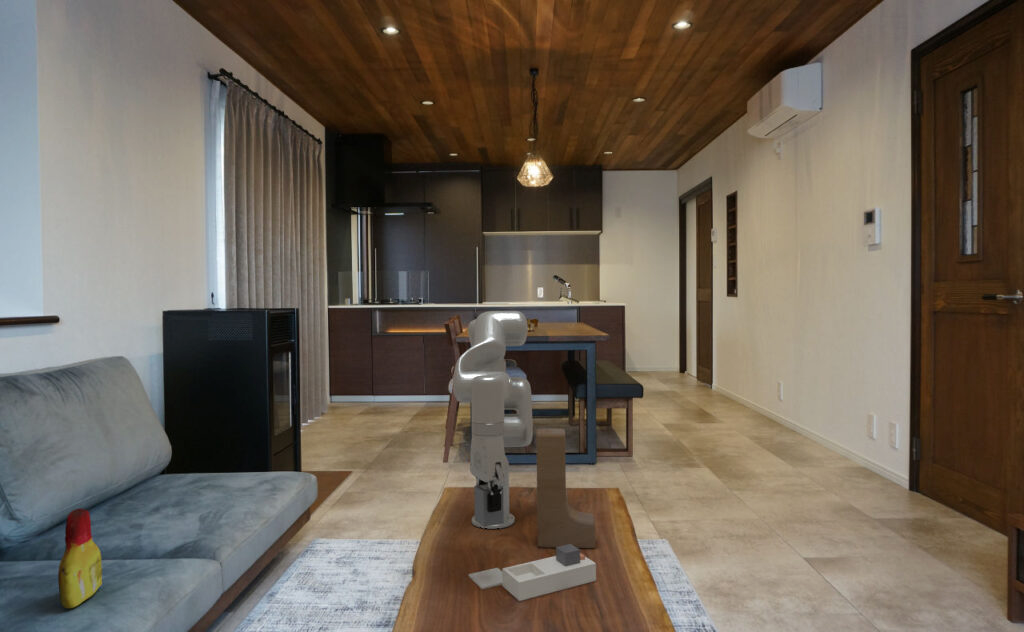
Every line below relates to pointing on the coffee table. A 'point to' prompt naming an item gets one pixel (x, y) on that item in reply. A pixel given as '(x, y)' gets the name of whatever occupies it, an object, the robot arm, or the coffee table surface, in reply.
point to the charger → (486, 507)
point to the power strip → (549, 574)
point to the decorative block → (558, 497)
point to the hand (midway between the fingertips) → (489, 506)
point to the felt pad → (487, 578)
